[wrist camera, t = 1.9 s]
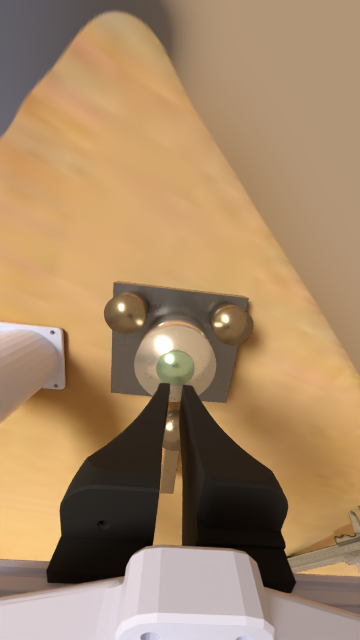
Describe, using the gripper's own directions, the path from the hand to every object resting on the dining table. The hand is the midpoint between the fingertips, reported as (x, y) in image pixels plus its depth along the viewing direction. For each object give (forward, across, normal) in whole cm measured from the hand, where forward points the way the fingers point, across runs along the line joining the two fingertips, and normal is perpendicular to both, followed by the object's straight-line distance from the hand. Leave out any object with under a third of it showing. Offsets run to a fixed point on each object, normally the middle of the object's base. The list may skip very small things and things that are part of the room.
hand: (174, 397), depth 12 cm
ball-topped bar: (+10, -1, +14) cm, 17 cm away
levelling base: (+10, -1, +6) cm, 12 cm away
